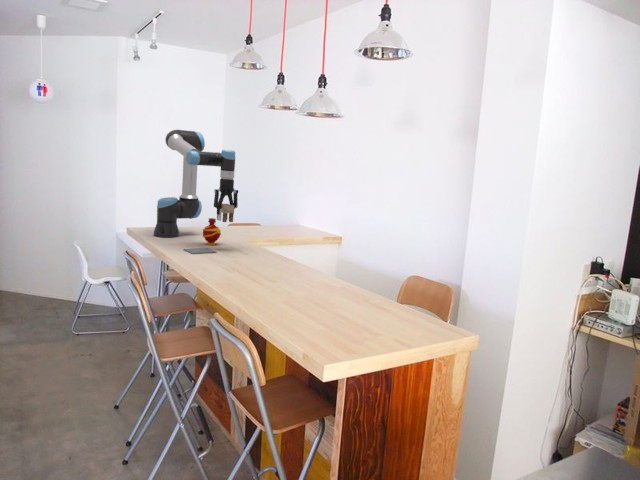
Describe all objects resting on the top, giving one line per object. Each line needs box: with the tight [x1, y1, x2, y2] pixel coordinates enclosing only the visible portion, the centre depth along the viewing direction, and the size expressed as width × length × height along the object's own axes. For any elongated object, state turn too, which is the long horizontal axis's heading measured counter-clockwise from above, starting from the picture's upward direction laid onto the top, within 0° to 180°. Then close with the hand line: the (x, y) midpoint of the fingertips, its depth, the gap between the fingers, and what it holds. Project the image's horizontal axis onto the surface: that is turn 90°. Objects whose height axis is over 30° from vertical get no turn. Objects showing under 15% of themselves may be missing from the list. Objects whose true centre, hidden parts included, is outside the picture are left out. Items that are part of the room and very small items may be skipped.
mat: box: [183, 247, 217, 255], centre depth 261 cm, size 11×14×1 cm
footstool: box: [216, 203, 235, 223], centre depth 269 cm, size 9×6×9 cm, turn 38°
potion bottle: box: [202, 217, 222, 246], centre depth 283 cm, size 10×10×15 cm
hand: (224, 220), depth 269 cm, fingers closed on footstool, 6 cm apart
